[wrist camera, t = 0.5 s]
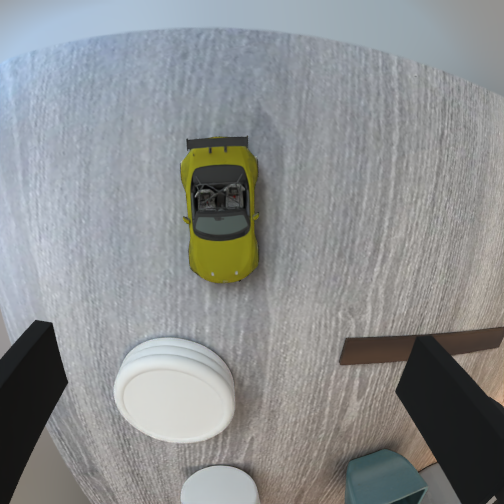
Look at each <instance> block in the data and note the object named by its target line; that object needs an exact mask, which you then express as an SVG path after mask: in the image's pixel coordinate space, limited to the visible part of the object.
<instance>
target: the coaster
mask: <svg viewBox="0 0 504 504" xmlns="http://www.w3.org/2000/svg"><path fill="white" fill-rule="evenodd" d="M114 399H115V403H116V405H117V407H118V409H119V411H120V413H121V414H122V416H123V417H124V418H125V419H126V420H127V421H128V422H129V423H130V424H131V425H132V426H134V427H135V428H136V429H138V430H139V431H141V432H143V433H144V434H146V435H148V436H150V437H153V438H156V439H159V440H162V441H166V442H172V443H195V442H200V441H204V440H207V439H210V438H212V437H214V436H216V435H218V434H219V433H221V432H222V431H223V430H224V429H225V428H226V427H227V426H228V425H229V423H230V422H231V420H232V417H233V415H234V411H235V392H234V381H233V377H232V374H231V372H230V370H229V368H228V367H227V365H226V364H225V362H224V361H223V360H222V359H221V358H220V357H219V356H218V355H217V354H216V353H214V352H213V351H212V350H210V349H208V348H207V347H205V346H203V345H200V344H198V343H196V342H193V341H189V340H185V339H180V338H168V337H167V338H157V339H152V340H148V341H145V342H143V343H141V344H139V345H138V346H136V347H135V348H133V349H132V350H131V351H130V352H129V353H128V354H127V356H126V357H125V358H124V360H123V362H122V365H121V368H120V370H119V372H118V375H117V377H116V379H115V383H114Z"/></svg>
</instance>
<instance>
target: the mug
mask: <svg viewBox="0 0 504 504" xmlns="http://www.w3.org/2000/svg"><path fill="white" fill-rule="evenodd" d="M180 498H181V504H260V499H259V494H258V490H257V486H256V484H255V482H254V480H253V479H252V478H251V477H250V476H249V475H248V474H247V473H245V472H244V471H242V470H240V469H238V468H235V467H231V466H221V465H219V466H211V467H207V468H204V469H201V470H199V471H197V472H195V473H194V474H193V475H191V476H190V477H189V478H188V479H187V480H186V482H185V483H184V485H183V487H182V490H181V495H180Z"/></svg>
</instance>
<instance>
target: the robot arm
mask: <svg viewBox="0 0 504 504" xmlns="http://www.w3.org/2000/svg"><path fill="white" fill-rule="evenodd" d="M67 384H68V380H67V377H66V374H65V370H64V367H63V363H62V360H61V356H60V352H59V349H58V345H57V341H56V336H55V332H54V328H53V323H51V322H45V321H39V320H35V321H34V322H33V323H32V324H31V325H30V326H29V328H28V329H27V330H26V331H25V332H24V333H23V334H22V335H21V336H20V337H19V339H18V340H17V341H16V342H15V343H14V344H13V345H12V346H11V348H10V349H9V350H8V351H7V352H6V353H5V355H4V356H3V357H2V358H1V359H0V504H9V503H10V501H11V498H12V496H13V493H14V491H15V489H16V486H17V484H18V482H19V479H20V477H21V475H22V473H23V470H24V468H25V466H26V464H27V462H28V460H29V457H30V455H31V453H32V451H33V449H34V447H35V445H36V443H37V441H38V439H39V437H40V435H41V433H42V431H43V429H44V427H45V425H46V423H47V421H48V419H49V417H50V415H51V413H52V411H53V409H54V408H55V406H56V404H57V402H58V400H59V398H60V396H61V395H62V393H63V391H64V389H65V387H66V386H67ZM395 392H396V394H397V395H398V397H399V399H400V400H401V402H402V403H403V405H404V407H405V408H406V410H407V412H408V413H409V415H410V416H411V418H412V420H413V421H414V423H415V425H416V426H417V428H418V430H419V431H420V433H421V435H422V436H423V438H424V440H425V441H426V443H427V445H428V446H429V448H430V450H431V451H432V453H433V455H434V456H435V458H436V460H437V462H438V463H439V465H440V467H441V469H442V470H443V472H444V474H445V476H446V477H447V479H448V481H449V483H450V484H451V486H452V488H453V490H454V491H455V493H456V495H457V497H458V499H459V500H460V502H461V504H486V503H487V502H488V501H489V500H490V499H491V498H492V497H493V496H495V497H496V499H497V500H496V501H495V502H494V503H493V504H504V407H503V406H502V405H501V404H500V403H498V402H497V401H495V400H494V399H492V398H491V397H488V396H487V395H486V394H485V393H484V391H483V390H482V389H481V388H480V387H479V386H478V385H477V383H476V382H475V381H474V380H473V379H472V378H471V377H470V376H469V375H468V374H467V372H466V371H465V370H464V369H463V368H462V367H461V366H460V365H459V364H458V363H457V362H456V360H455V359H454V358H453V357H452V356H451V355H450V354H449V353H448V352H447V351H446V350H445V349H444V348H443V347H442V346H441V345H440V343H439V342H438V341H437V340H436V339H435V338H434V337H433V336H432V335H427V336H416V339H415V342H414V344H413V347H412V350H411V353H410V355H409V358H408V361H407V363H406V366H405V369H404V371H403V374H402V376H401V379H400V381H399V383H398V386H397V388H396V391H395Z"/></svg>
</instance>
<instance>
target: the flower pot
mask: <svg viewBox="0 0 504 504" xmlns="http://www.w3.org/2000/svg"><path fill="white" fill-rule="evenodd" d="M427 490H428V485H427V483H426V482H425V481H424V479H423V478H422V477H421V475H420V474H419V473H418V472H417V470H416V469H415V468H414V466H413V465H412V464H411V463H410V462H409V461H408V460H407V459H406V458H404V457H403V456H401V455H400V454H398V453H396V452H393V451H390V450H387V449H383V450H380V451H378V452H375V453H372V454H369V455H366V456H363V457H360V458H357V459H354V460H351V461H350V462H349V464H348V467H347V473H346V488H345V504H420V502H421V501H422V498H423V497H424V495H425V493H426V491H427Z"/></svg>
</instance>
